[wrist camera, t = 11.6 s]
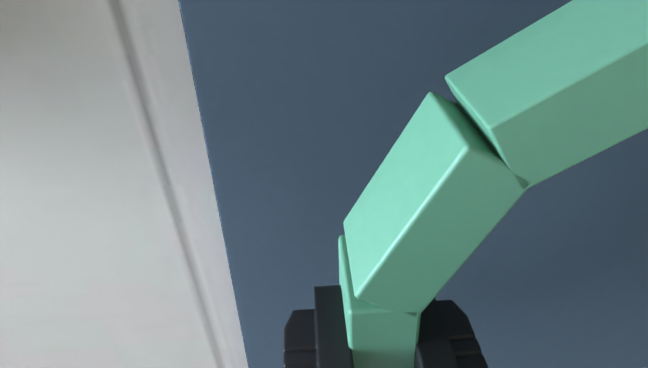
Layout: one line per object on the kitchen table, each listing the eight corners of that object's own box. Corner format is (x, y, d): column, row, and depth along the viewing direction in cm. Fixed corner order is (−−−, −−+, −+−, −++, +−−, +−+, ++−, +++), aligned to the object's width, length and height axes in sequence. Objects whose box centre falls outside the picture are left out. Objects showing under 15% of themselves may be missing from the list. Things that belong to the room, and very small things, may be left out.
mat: (145, -222, 11) (133, -231, 10) (1061, -254, 11) (1122, -266, 10) (255, 376, 22) (253, 396, 22) (702, 346, 23) (717, 363, 22)
